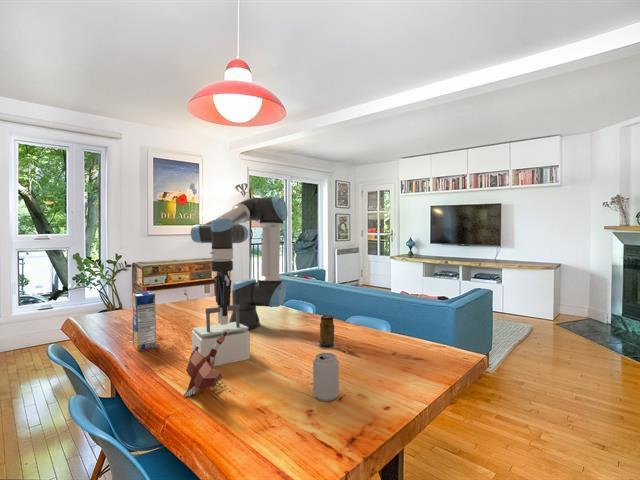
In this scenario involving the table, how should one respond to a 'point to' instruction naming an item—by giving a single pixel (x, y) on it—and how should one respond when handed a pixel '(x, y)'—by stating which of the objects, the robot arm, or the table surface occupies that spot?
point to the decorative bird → (204, 369)
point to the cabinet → (224, 346)
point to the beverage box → (144, 320)
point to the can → (326, 376)
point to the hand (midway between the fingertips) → (223, 323)
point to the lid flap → (219, 328)
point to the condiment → (327, 333)
